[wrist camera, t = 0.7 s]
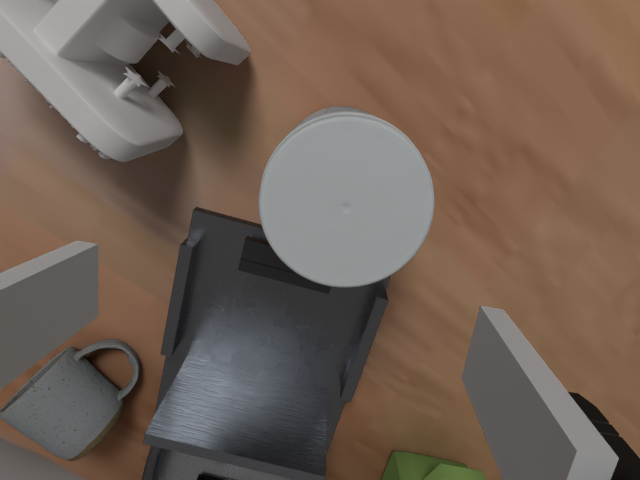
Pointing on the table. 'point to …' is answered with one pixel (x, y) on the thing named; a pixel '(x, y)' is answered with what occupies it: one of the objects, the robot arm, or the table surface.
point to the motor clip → (254, 360)
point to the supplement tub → (346, 198)
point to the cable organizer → (111, 63)
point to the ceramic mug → (70, 402)
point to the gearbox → (427, 468)
